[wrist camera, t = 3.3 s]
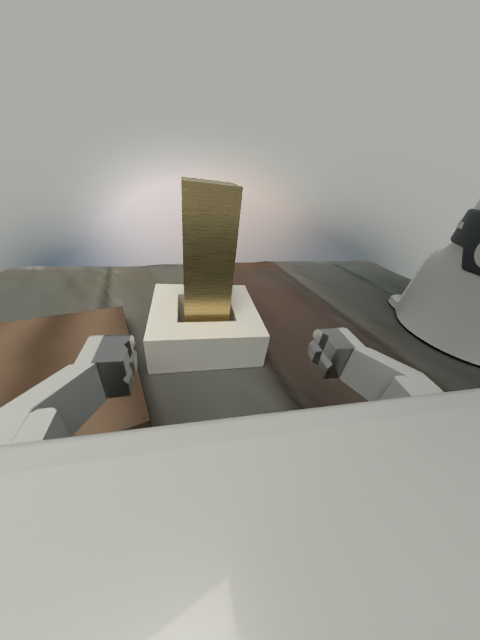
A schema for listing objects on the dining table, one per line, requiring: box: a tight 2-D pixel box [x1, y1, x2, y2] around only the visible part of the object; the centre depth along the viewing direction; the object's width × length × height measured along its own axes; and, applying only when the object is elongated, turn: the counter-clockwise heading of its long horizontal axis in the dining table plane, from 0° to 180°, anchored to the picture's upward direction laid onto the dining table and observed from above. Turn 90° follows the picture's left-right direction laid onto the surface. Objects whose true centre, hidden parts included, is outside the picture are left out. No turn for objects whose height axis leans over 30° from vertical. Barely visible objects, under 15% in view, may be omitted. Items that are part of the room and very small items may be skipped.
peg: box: [182, 177, 243, 322], centre depth 21 cm, size 4×4×14 cm
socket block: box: [143, 284, 270, 374], centre depth 23 cm, size 10×10×4 cm
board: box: [0, 306, 151, 436], centre depth 17 cm, size 11×14×2 cm
